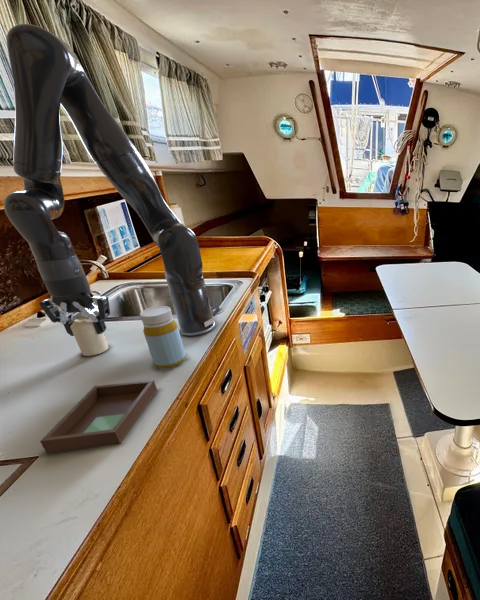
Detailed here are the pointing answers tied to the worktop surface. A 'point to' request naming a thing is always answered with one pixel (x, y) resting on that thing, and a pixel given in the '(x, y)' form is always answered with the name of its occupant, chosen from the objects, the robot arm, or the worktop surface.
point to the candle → (88, 337)
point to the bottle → (162, 337)
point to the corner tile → (104, 423)
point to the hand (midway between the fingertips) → (88, 333)
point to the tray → (99, 404)
